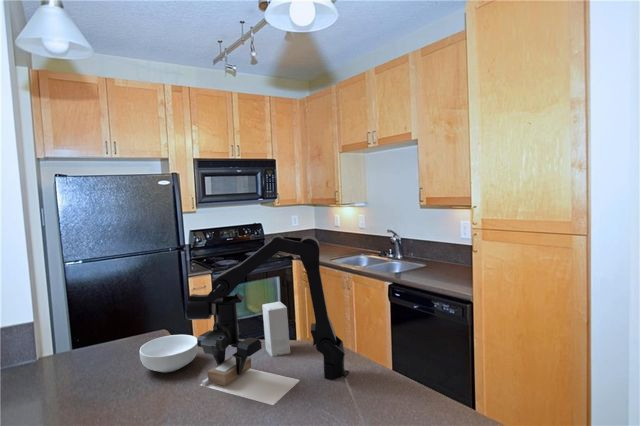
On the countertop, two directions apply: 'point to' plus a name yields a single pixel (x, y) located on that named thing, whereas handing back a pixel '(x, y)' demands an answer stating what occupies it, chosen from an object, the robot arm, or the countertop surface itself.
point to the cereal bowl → (169, 352)
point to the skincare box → (276, 328)
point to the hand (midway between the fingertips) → (230, 372)
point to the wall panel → (256, 386)
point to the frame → (227, 371)
